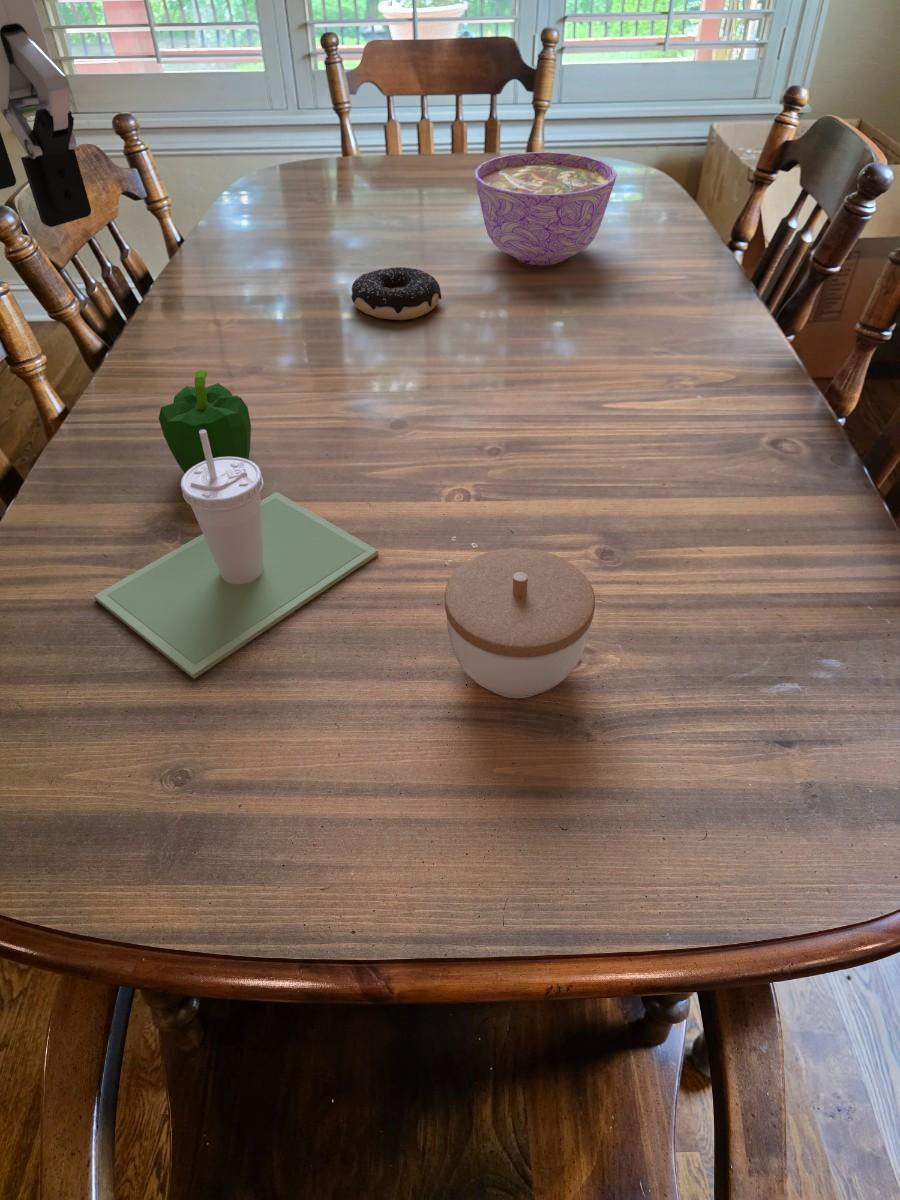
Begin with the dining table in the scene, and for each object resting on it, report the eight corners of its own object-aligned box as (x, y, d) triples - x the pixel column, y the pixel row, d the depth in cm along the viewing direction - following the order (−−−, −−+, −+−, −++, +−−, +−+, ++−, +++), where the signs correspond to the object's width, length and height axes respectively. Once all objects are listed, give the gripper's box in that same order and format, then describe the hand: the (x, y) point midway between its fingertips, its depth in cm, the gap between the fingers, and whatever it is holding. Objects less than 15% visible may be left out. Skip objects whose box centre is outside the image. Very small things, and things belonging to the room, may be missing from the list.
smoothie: (198, 558, 77) (160, 419, 67) (269, 540, 78) (241, 401, 69) (213, 603, 72) (175, 460, 63) (288, 582, 74) (261, 440, 65)
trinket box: (614, 683, 66) (630, 590, 59) (499, 745, 61) (502, 652, 55) (529, 603, 72) (535, 512, 66) (420, 655, 68) (415, 563, 62)
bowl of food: (532, 222, 140) (536, 143, 132) (635, 252, 130) (645, 169, 122) (446, 257, 130) (444, 174, 122) (550, 293, 119) (555, 205, 111)
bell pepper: (236, 500, 84) (215, 408, 77) (161, 486, 86) (135, 396, 79) (273, 454, 90) (257, 365, 83) (203, 443, 92) (181, 355, 85)
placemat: (194, 679, 67) (192, 674, 66) (95, 600, 74) (93, 595, 73) (378, 554, 78) (378, 549, 77) (277, 495, 85) (276, 491, 84)
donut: (419, 329, 111) (418, 299, 109) (337, 316, 115) (334, 286, 112) (451, 296, 119) (450, 267, 116) (373, 284, 122) (371, 256, 120)
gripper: (-215, -132, 48) (-84, 192, 60) (-80, -127, 40) (43, 251, 51) (-80, -137, 53) (18, 167, 64) (69, -134, 44) (152, 218, 55)
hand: (29, 204), depth 58 cm, fingers open, 9 cm apart
